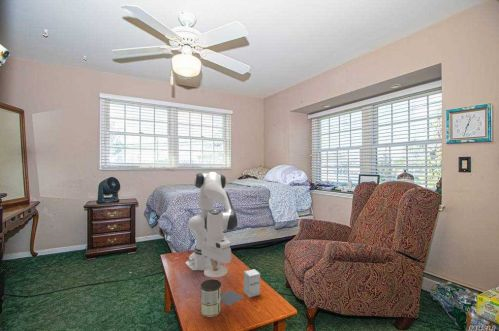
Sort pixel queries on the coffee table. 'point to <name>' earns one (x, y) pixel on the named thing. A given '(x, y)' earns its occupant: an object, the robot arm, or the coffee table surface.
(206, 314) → the coffee can
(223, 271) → the lid
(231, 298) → the mat
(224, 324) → the coffee table surface
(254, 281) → the supplement box
